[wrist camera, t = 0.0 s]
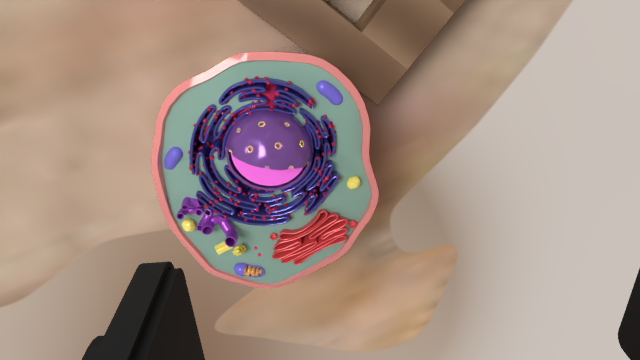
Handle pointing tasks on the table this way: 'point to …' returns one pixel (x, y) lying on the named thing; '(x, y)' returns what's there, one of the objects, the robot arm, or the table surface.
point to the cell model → (265, 166)
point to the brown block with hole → (360, 35)
